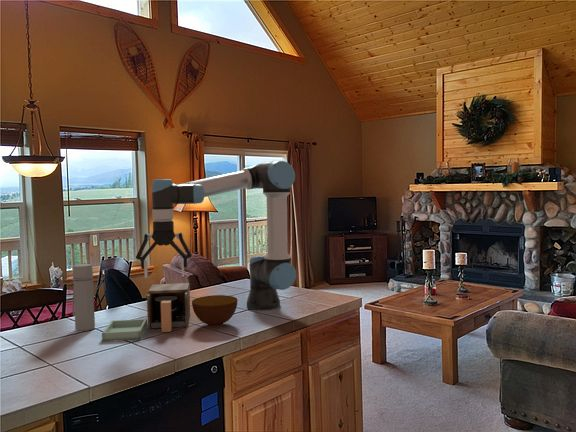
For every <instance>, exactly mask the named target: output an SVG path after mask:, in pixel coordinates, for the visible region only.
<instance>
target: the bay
mask: <svg viewBox="0 0 576 432" xmlns="http://www.w3.org/2000/svg"><path fill="white" fill-rule="evenodd" d="M190 290H191V289H190V283H189V282H184V283H182V282H181V283H161V284H159V283H158V284H156V283H155V284H152V285H151V286H150V288H149V289H148V292H147V295H146V309H147V311H146V312H147V330H151V329H152V328H151V323H153V322H154V320H155V318H156V313H155V303H154V300H155V298H157V297H162V296H175V297H177V299H178V300H179V301H180V302H181V303H182V305H183V309H185V320H186V323H185V328H188V327H189V323H190V319H191V296H190V292H191V291H190ZM180 308H181V306H180V303H179V302H178V307H177V309H180Z"/></svg>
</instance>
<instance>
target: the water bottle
mask: <svg viewBox="0 0 576 432" xmlns="http://www.w3.org/2000/svg"><path fill="white" fill-rule="evenodd" d="M70 281H72V282H73V283H72V285H73V286H72V287H73V291H72V305H71V306H72V307H71V310H72V311H71V312H72V316H73V317H74V326H75V328H74V329H75V331H77V332H80V331H84V332H89V330H90V331H92V330H93V329H95V327H96V321H95V316H96V315H95V297H94V295H95V294H94V293H95V292H94V272H93V265H92V264H91V263H80V264H74V265H73V271H72V278H70Z"/></svg>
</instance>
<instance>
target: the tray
mask: <svg viewBox="0 0 576 432" xmlns="http://www.w3.org/2000/svg"><path fill="white" fill-rule="evenodd" d="M146 329H148V318H140V319H139V318H138V319H117V320H111V321H110V322H109V324H108V325H107V326H106V328H105V329H104V330H103V331H102V333H101V341H102V342H111V341H112V342H114V340H118V341H131V340H133V341H134V340H135V341H136V340H142V337H143V335H144V334H145V332H146Z"/></svg>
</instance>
